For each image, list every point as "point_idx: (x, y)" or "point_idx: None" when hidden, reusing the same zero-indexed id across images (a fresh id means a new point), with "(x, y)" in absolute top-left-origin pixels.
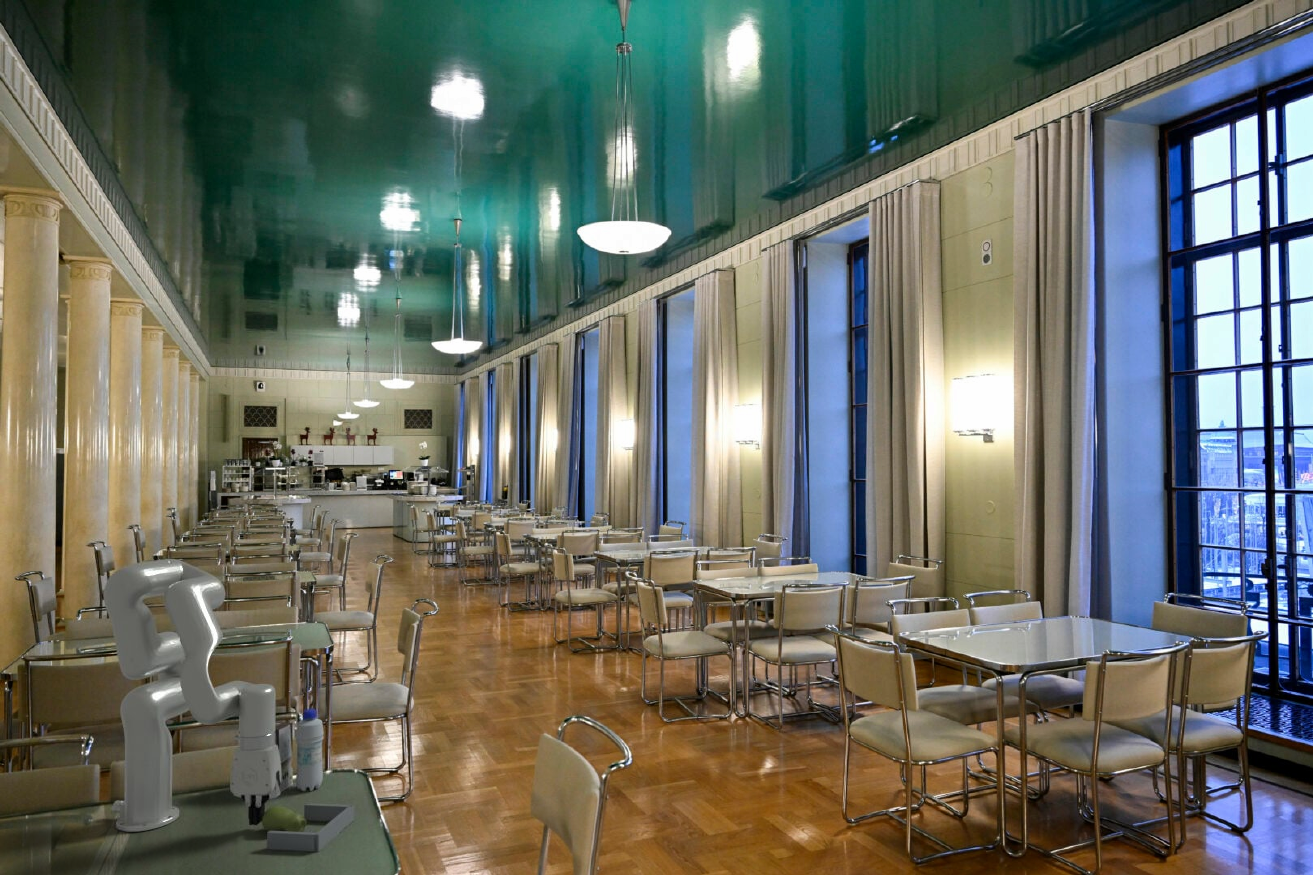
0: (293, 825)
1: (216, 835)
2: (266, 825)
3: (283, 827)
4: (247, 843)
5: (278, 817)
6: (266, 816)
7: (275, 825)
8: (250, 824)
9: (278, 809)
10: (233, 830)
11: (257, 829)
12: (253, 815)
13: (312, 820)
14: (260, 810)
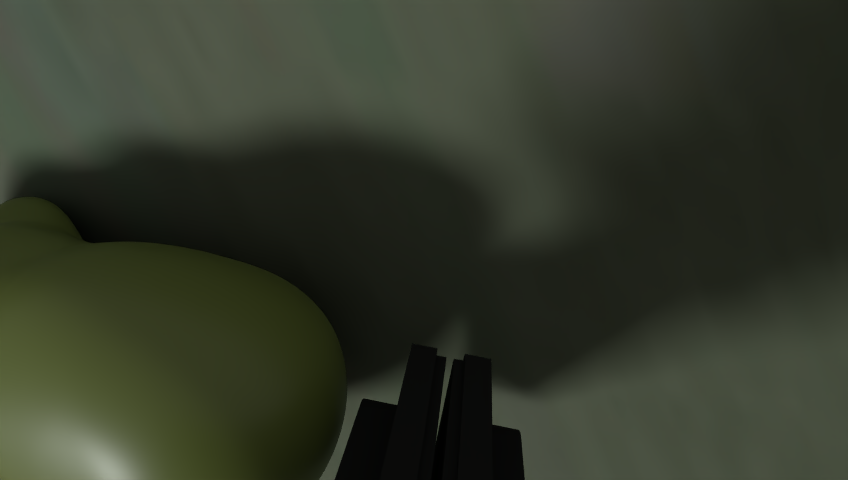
0: None
1: (818, 286)
2: (250, 275)
3: (57, 234)
4: (394, 51)
5: (44, 302)
6: (216, 343)
7: (125, 244)
8: (475, 356)
9: (59, 437)
10: (668, 379)
11: None
12: (433, 419)
13: None
14: (339, 473)
